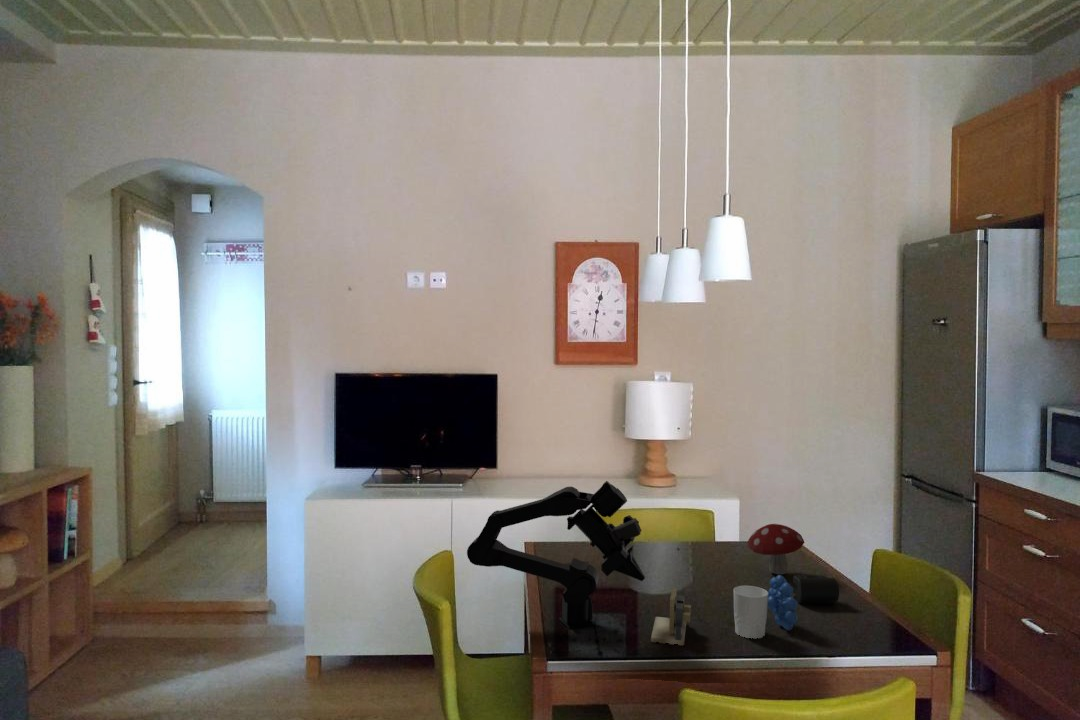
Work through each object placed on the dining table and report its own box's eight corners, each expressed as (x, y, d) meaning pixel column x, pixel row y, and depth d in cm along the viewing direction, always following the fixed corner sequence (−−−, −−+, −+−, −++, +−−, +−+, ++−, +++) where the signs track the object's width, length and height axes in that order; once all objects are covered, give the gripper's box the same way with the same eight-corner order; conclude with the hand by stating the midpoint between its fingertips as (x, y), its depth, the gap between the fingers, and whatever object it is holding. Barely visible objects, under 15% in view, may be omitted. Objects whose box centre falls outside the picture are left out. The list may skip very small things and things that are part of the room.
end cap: (800, 607, 190) (801, 581, 189) (790, 597, 197) (791, 572, 196) (839, 607, 190) (840, 582, 190) (827, 598, 197) (828, 573, 197)
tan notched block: (669, 634, 168) (670, 599, 168) (671, 620, 176) (672, 587, 176) (689, 636, 167) (690, 601, 167) (690, 622, 175) (691, 589, 174)
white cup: (747, 642, 167) (748, 599, 167) (725, 629, 175) (726, 587, 174) (774, 637, 170) (775, 594, 170) (752, 624, 178) (753, 583, 177)
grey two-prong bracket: (674, 639, 166) (674, 610, 166) (676, 619, 177) (677, 592, 177) (682, 640, 165) (682, 611, 165) (684, 620, 177) (685, 593, 177)
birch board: (651, 641, 167) (651, 637, 167) (655, 620, 179) (655, 616, 179) (683, 645, 165) (683, 641, 165) (686, 623, 177) (686, 619, 177)
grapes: (753, 618, 182) (754, 570, 181) (778, 616, 183) (780, 569, 183) (777, 637, 170) (778, 586, 170) (803, 635, 172) (805, 584, 171)
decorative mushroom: (802, 586, 205) (803, 533, 205) (743, 578, 211) (745, 527, 211) (804, 570, 220) (805, 520, 219) (749, 563, 226) (750, 514, 225)
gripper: (615, 517, 165) (665, 569, 162) (625, 499, 183) (670, 545, 181) (581, 549, 167) (629, 601, 165) (594, 528, 185) (638, 575, 183)
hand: (643, 579), depth 173 cm, fingers closed
